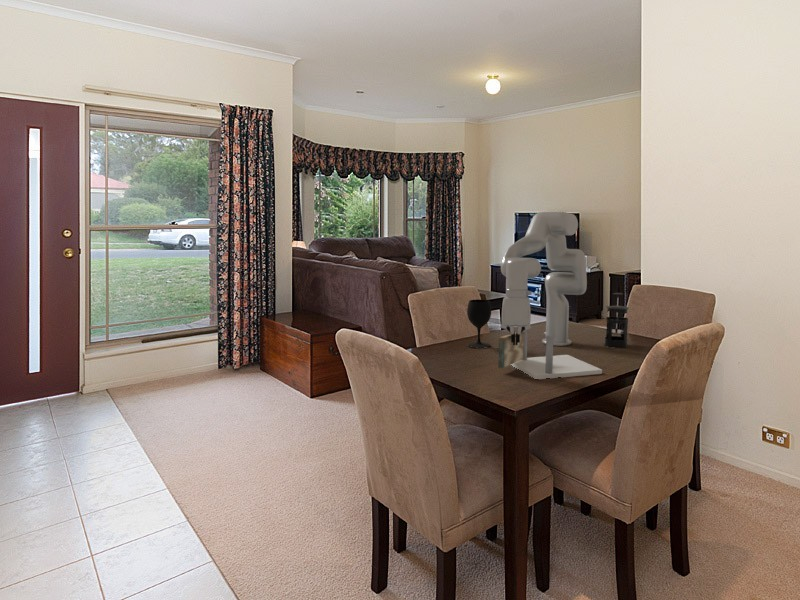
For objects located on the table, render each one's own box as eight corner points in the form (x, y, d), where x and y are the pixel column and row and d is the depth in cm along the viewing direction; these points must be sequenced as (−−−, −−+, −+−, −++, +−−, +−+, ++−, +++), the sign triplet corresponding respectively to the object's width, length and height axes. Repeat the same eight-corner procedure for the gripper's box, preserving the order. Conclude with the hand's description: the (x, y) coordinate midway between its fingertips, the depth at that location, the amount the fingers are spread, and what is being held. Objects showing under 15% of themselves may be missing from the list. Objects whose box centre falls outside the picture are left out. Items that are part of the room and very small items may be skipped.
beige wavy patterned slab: (519, 358, 211) (520, 330, 209) (523, 359, 210) (524, 331, 208) (497, 367, 199) (498, 337, 197) (502, 368, 198) (502, 338, 196)
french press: (617, 349, 232) (619, 295, 229) (598, 345, 240) (600, 293, 237) (634, 345, 239) (637, 293, 235) (615, 341, 246) (618, 290, 243)
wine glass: (464, 347, 239) (464, 302, 236) (470, 342, 249) (470, 298, 246) (487, 349, 235) (488, 303, 232) (493, 344, 245) (493, 299, 242)
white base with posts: (506, 363, 212) (507, 326, 210) (567, 358, 219) (568, 322, 217) (535, 379, 190) (536, 338, 188) (601, 373, 197) (603, 333, 194)
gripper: (537, 293, 199) (536, 343, 201) (495, 292, 202) (494, 341, 204) (538, 295, 191) (537, 347, 194) (494, 295, 195) (493, 345, 197)
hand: (515, 344), depth 199 cm, fingers closed
